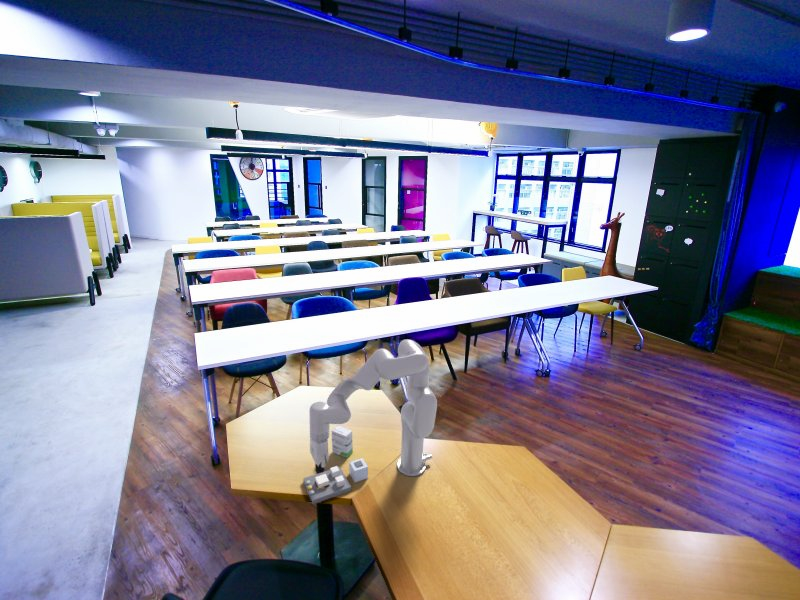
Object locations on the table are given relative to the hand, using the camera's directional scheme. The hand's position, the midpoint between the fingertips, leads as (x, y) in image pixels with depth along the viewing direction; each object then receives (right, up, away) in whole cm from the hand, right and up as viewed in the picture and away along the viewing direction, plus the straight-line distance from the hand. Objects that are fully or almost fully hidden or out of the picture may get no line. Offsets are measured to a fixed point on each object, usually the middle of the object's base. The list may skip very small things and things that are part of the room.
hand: (319, 471), depth 165 cm
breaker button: (+1, -5, +2) cm, 6 cm away
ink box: (+6, -1, +24) cm, 25 cm away
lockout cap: (+15, -6, +10) cm, 19 cm away
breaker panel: (+2, -8, +4) cm, 9 cm away
